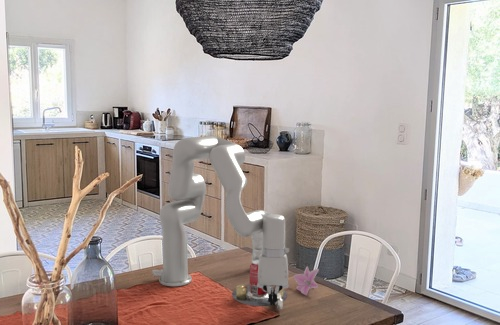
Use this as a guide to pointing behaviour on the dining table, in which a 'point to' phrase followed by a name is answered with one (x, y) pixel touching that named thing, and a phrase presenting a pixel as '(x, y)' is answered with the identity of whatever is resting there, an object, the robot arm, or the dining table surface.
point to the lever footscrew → (279, 299)
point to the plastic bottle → (257, 245)
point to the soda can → (255, 279)
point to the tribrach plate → (252, 296)
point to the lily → (306, 280)
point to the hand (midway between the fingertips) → (272, 303)
